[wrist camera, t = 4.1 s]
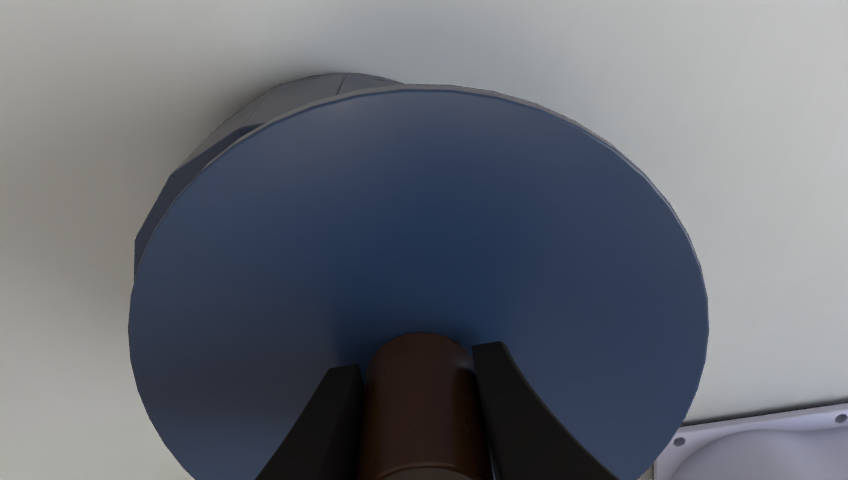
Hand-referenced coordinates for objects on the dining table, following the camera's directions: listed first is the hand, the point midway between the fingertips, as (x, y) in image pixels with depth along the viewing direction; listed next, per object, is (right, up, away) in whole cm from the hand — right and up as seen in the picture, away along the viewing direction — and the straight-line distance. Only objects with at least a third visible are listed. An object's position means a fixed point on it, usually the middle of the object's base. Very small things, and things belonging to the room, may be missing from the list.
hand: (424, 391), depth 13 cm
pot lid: (0, 0, +1) cm, 1 cm away
